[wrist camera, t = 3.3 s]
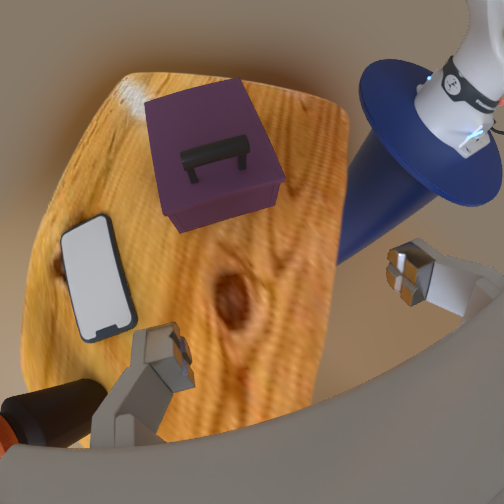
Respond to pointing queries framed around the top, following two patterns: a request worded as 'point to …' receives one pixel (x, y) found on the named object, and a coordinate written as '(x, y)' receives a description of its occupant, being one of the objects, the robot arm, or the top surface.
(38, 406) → the bottle
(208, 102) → the lid
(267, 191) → the purple box
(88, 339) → the smartphone
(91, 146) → the top surface
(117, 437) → the robot arm
